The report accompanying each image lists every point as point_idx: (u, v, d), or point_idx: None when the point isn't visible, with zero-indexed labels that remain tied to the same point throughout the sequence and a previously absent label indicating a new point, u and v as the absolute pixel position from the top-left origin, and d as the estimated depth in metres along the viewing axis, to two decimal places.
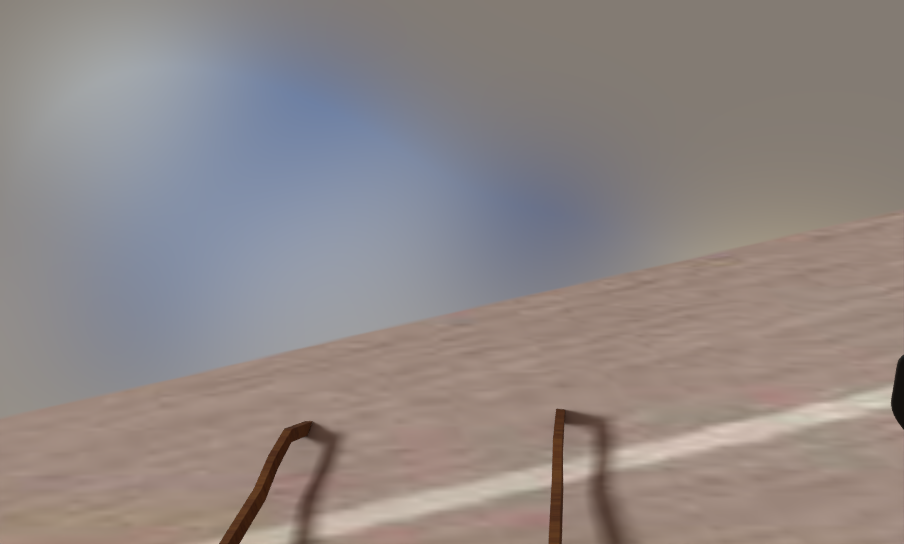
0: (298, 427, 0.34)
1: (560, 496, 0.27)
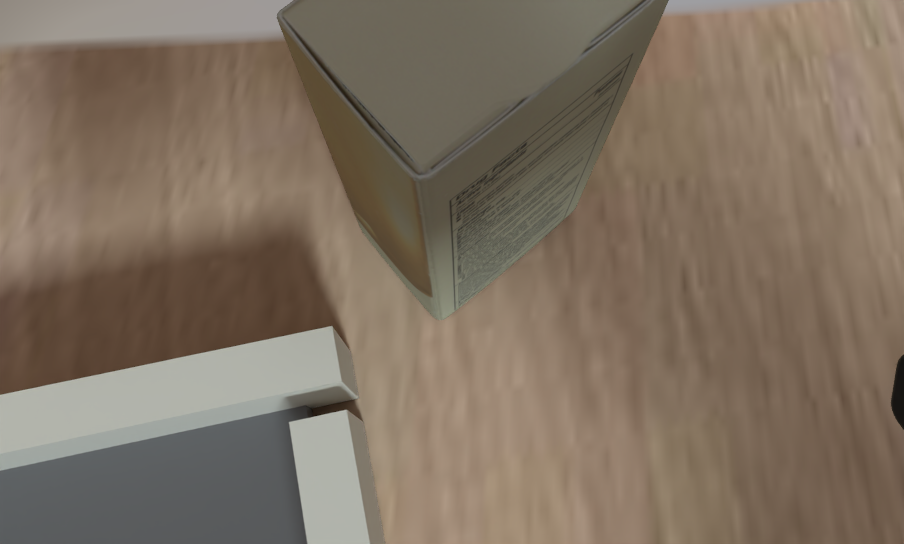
0: None
1: None
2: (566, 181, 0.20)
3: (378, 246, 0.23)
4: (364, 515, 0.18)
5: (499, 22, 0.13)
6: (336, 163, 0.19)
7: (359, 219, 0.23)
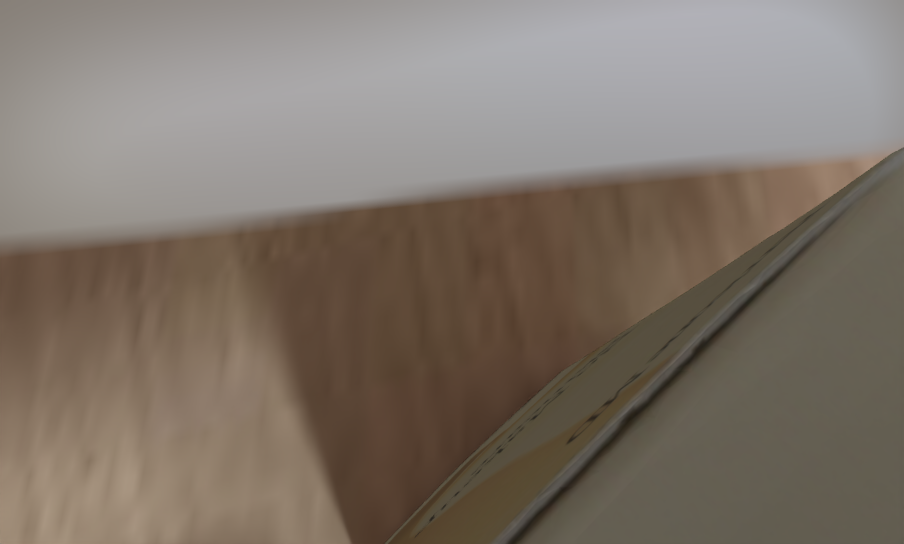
0: None
1: None
2: None
3: None
4: None
5: None
6: None
7: None
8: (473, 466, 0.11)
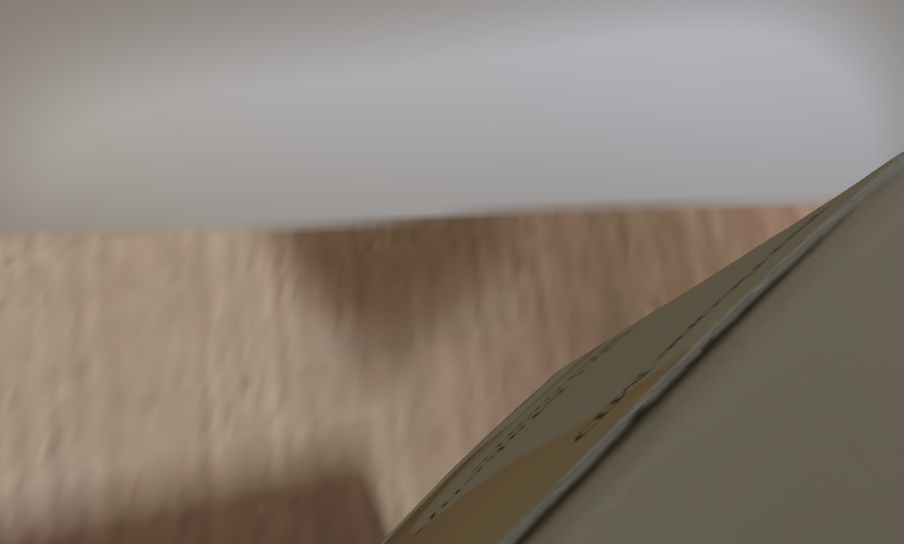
0: None
1: None
2: None
3: None
4: None
5: None
6: None
7: None
8: (473, 464, 0.11)
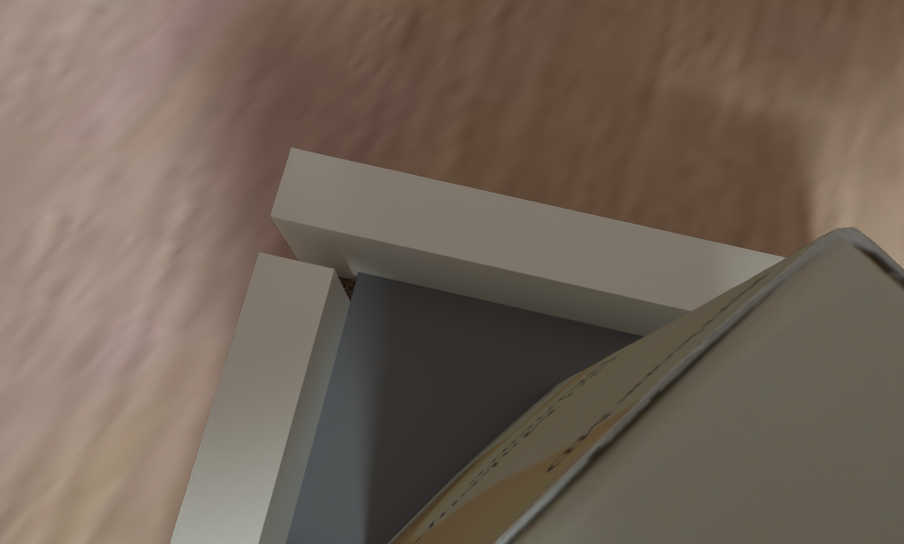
0: None
1: None
2: None
3: None
4: None
5: None
6: None
7: None
8: (470, 476, 0.12)
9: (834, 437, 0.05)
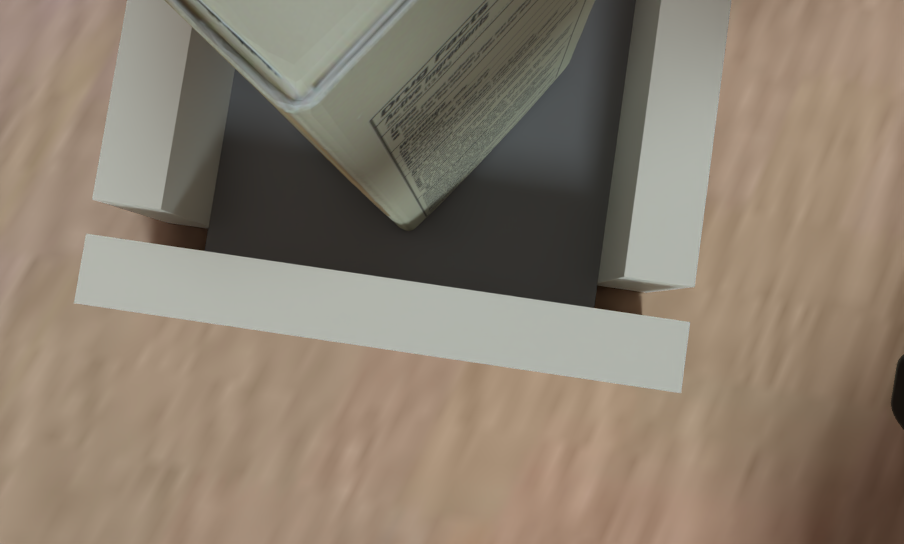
0: None
1: None
2: (556, 37, 0.14)
3: None
4: (727, 19, 0.16)
5: None
6: None
7: None
8: None
9: None
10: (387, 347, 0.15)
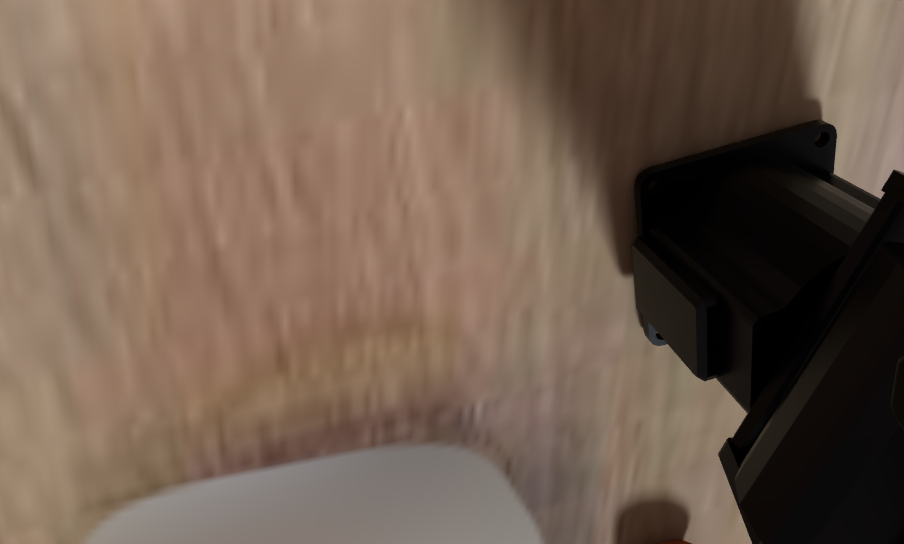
0: None
1: None
2: None
3: None
4: None
5: None
6: None
7: None
8: None
9: None
10: None
